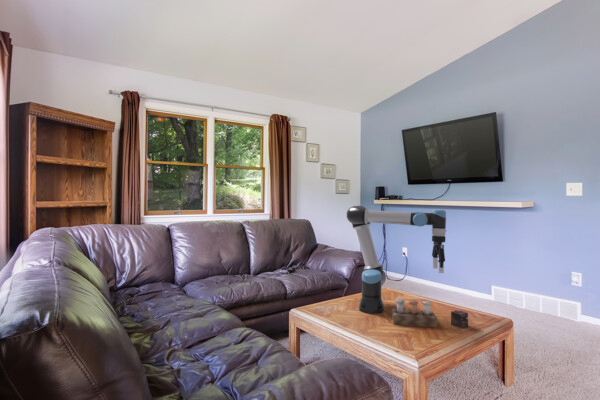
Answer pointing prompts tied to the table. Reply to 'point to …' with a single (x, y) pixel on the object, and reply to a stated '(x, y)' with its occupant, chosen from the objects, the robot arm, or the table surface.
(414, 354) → the table surface
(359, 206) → the robot arm
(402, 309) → the grey plug
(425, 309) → the cream plug
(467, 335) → the table surface
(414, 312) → the terracotta plug
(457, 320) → the box
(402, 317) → the socket block
